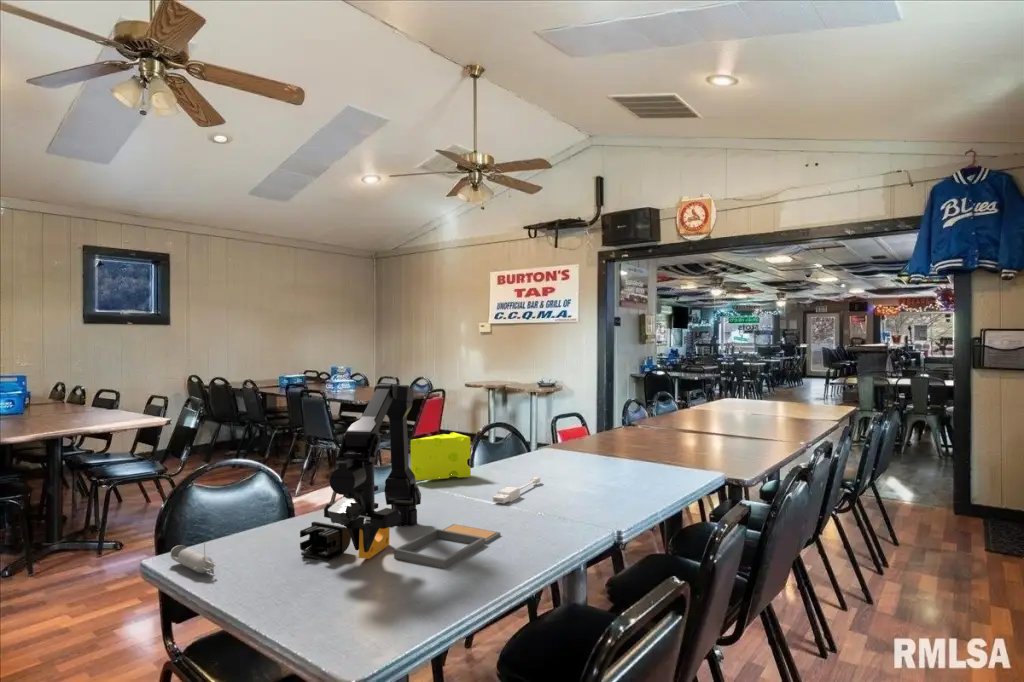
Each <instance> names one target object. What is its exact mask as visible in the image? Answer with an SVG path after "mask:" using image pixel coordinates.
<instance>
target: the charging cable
mask: <svg viewBox="0 0 1024 682" xmlns="http://www.w3.org/2000/svg"><path fill="white" fill-rule="evenodd" d="M538 483H541V477H537V476H536V477H535V476H534V477H532V478H531V479H530V482H528V483H525V484H524V485H520V486H519V487H514V486H513V487H512V486H506V487H504V488H502V489H500V490H499V491H497V494H496V495H494V496H492V502H493V503H498V504H500V503H501V504H506V503H512V502H514V501H515V500H517V499H518V498H520V497H521V494H520V493H521V492H520V491H521V490H523V489H525V488H527V487H528V486H530V485H532V484H535V485H536V484H538Z"/></svg>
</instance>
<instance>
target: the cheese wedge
mask: <svg viewBox="0 0 1024 682" xmlns="http://www.w3.org/2000/svg"><path fill="white" fill-rule="evenodd" d="M469 459H471V436H468V435H464V434H461V433H457V432H454V431H453V432H450V433H449V434H446V433H442V434H438V435H437V434H435V435H431V436H426V437H421V438H414V439H410V469H411V471H412V472H413V474H414V475H415V480H416V481H423V480H424V481H426V480H427V481H428V480H442V479H443V480H444V479H450V478H451V477H457V478H467V477H468V478H469V477H471V476H472V475H471V473H472V472H471V468H472V467H471V466H470V465H468V460H469ZM451 474H452V475H451ZM439 477H440V478H439Z"/></svg>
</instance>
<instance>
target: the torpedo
mask: <svg viewBox="0 0 1024 682" xmlns="http://www.w3.org/2000/svg"><path fill="white" fill-rule="evenodd" d="M203 549H204V553H202V552H200V551H198V550H195V549H193V548H191V547H187V546H186V545H184V544H180V545H179V544H178V545H176V546H174V547H172V548H171V550H170V557H171V560H173V561H174V562H176V563H178V564H180V565H182V566H185V567H187V568H188V569H190V570H192V571H195V572H197V573H198V574H201V573H202V574H205V573H209V574H212V575H215V570H214V569H216V568H218V566H217V564H214V563H216V561H213V559H212V557H210V556H209V555H207V554H206V542H205V543H203Z"/></svg>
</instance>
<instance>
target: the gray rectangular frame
mask: <svg viewBox="0 0 1024 682" xmlns="http://www.w3.org/2000/svg"><path fill="white" fill-rule="evenodd" d="M437 539H441V540H445V541H446V540H447V541H452V542H457V543H463V544H468V545H466V546H464V547H463V548H461V549H460V550H457V551H455V552H454V553H452V554H451V555H449V556H447V557H446V558H441V557H438V556H437V557H436V556H432V555H428V554H423V553H422V554H421V553H419V552H415V551H414V550H417V549H418V548H421V547H422V546H425V545H426V544H429V543H430V542H432V541H435V540H437ZM485 545H486V544H485V538H483V537H478V536H473V535H467V534H462V533H457V532H451V531H446V530H443V529H441V528H440V529H439V528H436V529H433V530H432V531H430V532H429V531H428V532H427V533H426V534H423V535H421V536H418V537H417V538H415V539H413V540H410V541H408V542H407V543H405V544H402V545H400V546H398V547H396V548H395V549H394V550H393V558H394V559H396V560H401V561H405V562H410V563H415V564H420V565H426V566H430V567H434V568H435V567H436V568H439V569H445V570H446V569H447V568H448V567H451V566H452V565H454V564H455V563H457V562H459V561H461V560H462V559H464V558H466V557H467V556H469V555H471V554H472V553H474V552H475V551H477V550H479V549H480V548H482V547H484V546H485Z"/></svg>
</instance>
